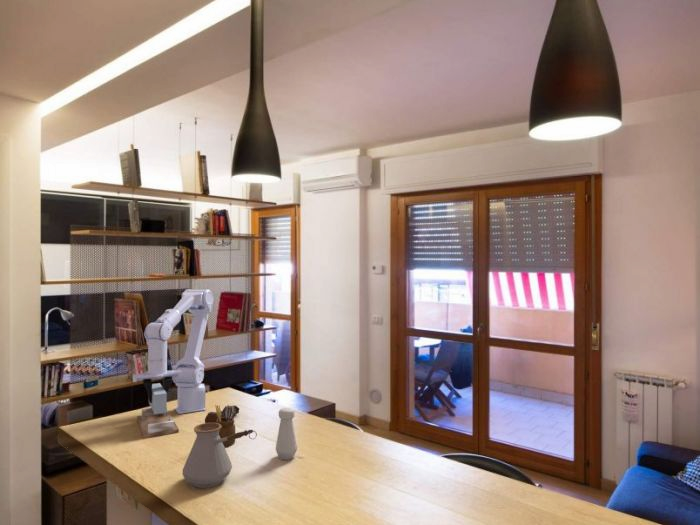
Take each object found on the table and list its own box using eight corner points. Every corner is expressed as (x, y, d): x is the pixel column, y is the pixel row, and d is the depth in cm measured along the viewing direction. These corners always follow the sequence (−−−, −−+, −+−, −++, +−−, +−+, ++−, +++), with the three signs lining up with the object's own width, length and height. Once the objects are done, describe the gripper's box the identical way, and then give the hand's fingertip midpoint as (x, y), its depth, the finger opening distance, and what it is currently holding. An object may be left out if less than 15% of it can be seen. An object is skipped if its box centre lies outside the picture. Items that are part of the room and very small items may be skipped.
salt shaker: (293, 462, 121) (293, 412, 121) (272, 460, 122) (272, 411, 122) (299, 453, 127) (299, 406, 127) (280, 452, 128) (280, 405, 128)
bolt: (237, 420, 161) (213, 433, 146) (226, 412, 162) (201, 424, 148) (245, 406, 160) (221, 418, 146) (234, 398, 161) (210, 409, 147)
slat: (159, 400, 157) (159, 383, 157) (166, 412, 144) (166, 393, 144) (148, 402, 155) (148, 384, 155) (154, 414, 142) (154, 394, 142)
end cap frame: (168, 414, 161) (168, 404, 161) (178, 432, 143) (178, 421, 143) (137, 419, 156) (137, 409, 156) (143, 438, 138) (143, 426, 138)
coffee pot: (171, 483, 109) (172, 420, 109) (210, 466, 119) (211, 408, 119) (234, 509, 97) (234, 438, 98) (271, 487, 107) (272, 423, 107)
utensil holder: (239, 441, 135) (239, 401, 136) (224, 449, 130) (225, 406, 130) (224, 438, 138) (224, 398, 138) (209, 445, 133) (209, 403, 133)
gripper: (134, 363, 143) (134, 407, 142) (183, 359, 150) (182, 401, 150) (132, 359, 149) (131, 401, 149) (179, 355, 156) (179, 395, 156)
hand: (157, 401), depth 150 cm, fingers closed on slat, 3 cm apart
